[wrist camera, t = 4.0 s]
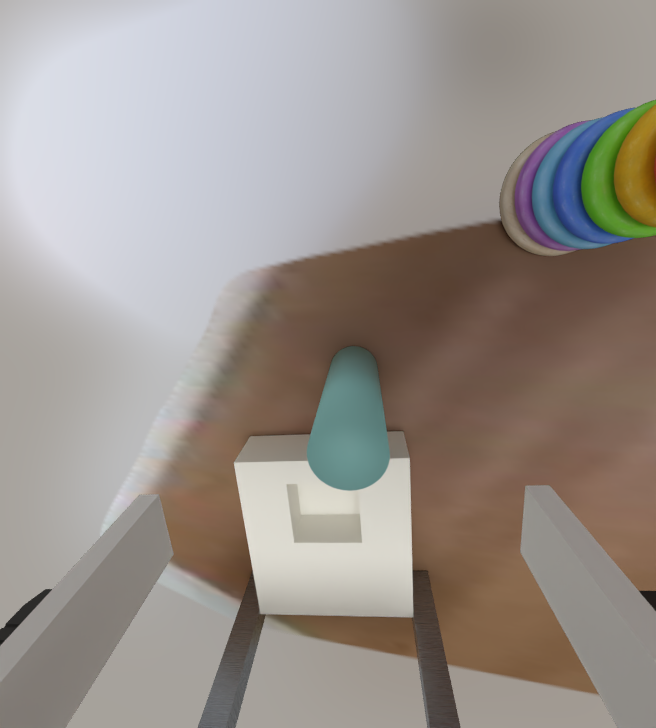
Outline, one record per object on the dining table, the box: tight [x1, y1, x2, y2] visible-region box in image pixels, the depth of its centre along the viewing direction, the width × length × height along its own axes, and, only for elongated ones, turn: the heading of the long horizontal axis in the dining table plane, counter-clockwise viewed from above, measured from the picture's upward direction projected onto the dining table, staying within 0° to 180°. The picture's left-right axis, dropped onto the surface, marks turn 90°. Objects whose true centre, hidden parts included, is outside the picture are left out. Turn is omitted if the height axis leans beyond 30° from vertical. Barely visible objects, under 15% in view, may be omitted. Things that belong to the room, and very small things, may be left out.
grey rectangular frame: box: [198, 571, 460, 728], centre depth 26 cm, size 6×18×24 cm, turn 95°
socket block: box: [234, 431, 413, 617], centre depth 33 cm, size 16×14×4 cm
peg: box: [307, 346, 390, 491], centre depth 24 cm, size 4×4×14 cm
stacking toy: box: [499, 100, 656, 256], centre depth 17 cm, size 8×8×19 cm
